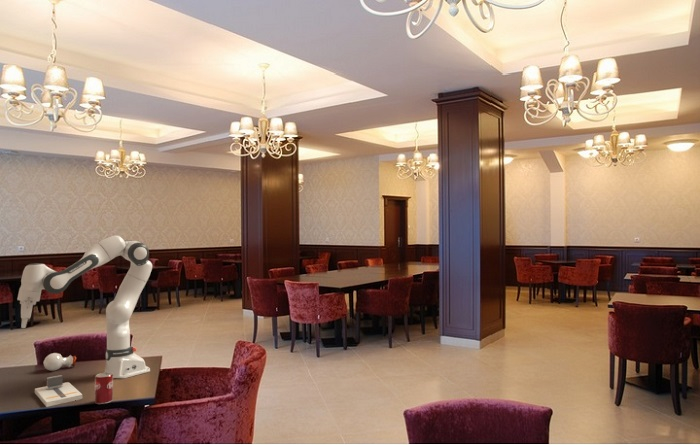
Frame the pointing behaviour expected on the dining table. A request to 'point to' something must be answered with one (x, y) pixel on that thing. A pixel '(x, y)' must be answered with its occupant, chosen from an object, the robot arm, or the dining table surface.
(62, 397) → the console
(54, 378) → the fader
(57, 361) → the potion bottle
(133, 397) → the dining table surface
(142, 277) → the robot arm
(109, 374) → the soda can
